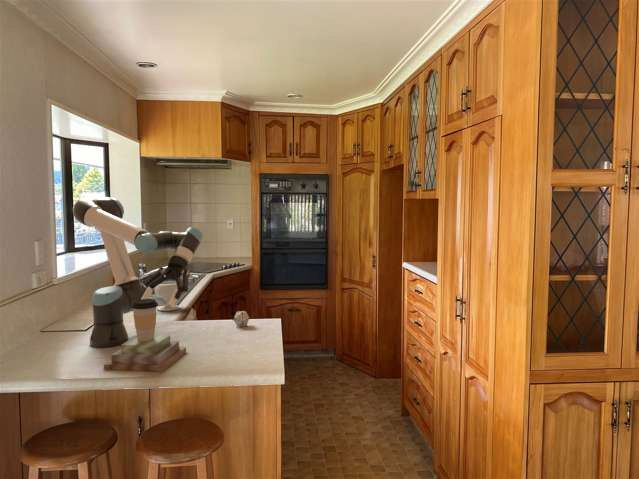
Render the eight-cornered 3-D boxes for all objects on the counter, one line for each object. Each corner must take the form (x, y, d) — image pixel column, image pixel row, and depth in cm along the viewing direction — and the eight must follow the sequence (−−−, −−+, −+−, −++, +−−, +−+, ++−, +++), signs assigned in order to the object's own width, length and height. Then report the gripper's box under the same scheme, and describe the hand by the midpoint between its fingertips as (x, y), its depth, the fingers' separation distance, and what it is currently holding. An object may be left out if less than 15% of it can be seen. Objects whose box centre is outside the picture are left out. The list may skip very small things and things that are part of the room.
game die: (244, 335, 224) (245, 322, 217) (228, 328, 225) (229, 314, 218) (252, 322, 230) (254, 309, 224) (237, 315, 232) (238, 302, 225)
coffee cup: (137, 336, 181) (135, 298, 180) (161, 335, 182) (160, 298, 181) (129, 343, 172) (127, 304, 171) (155, 343, 173) (154, 303, 172)
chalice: (150, 309, 260) (149, 282, 259) (172, 305, 271) (171, 279, 270) (164, 313, 251) (163, 285, 250) (186, 308, 262) (185, 282, 261)
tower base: (103, 369, 168) (102, 348, 167) (134, 350, 190) (133, 331, 189) (161, 372, 166) (161, 350, 165) (186, 352, 187) (185, 332, 187)
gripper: (209, 267, 190) (187, 312, 178) (161, 263, 200) (136, 306, 187) (201, 256, 185) (177, 301, 173) (151, 253, 194) (126, 295, 182)
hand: (156, 304), depth 180 cm, fingers open, 13 cm apart
